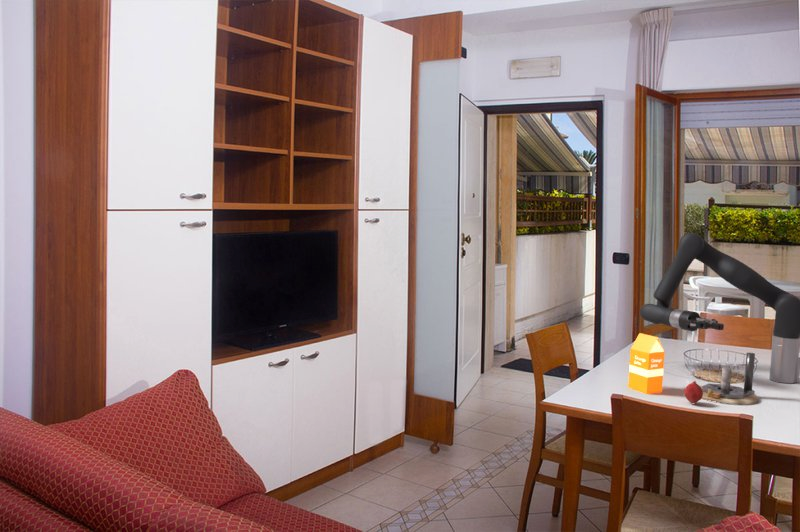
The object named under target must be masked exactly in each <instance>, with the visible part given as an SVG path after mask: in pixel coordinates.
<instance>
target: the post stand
mask: <svg viewBox="0 0 800 532" xmlns="http://www.w3.org/2000/svg"><path fill="white" fill-rule="evenodd" d="M732 370H733V369H732V368H731V367H727V366H722V368H721V379H720V384H721V390H723V391H730V385H731V384H732V383H731V379H732ZM699 386H700V387H701V389H702V386H704V385H699ZM702 391H703V390H702ZM711 393H712V389H708V394H707V393H706V392H704V391H703V396H702V398H703V399H702V398H701V399H702V400H704V399H707V400H706V401H708V400H711V401H710V402H712V401H716V402H715V403H717V402H721V403H720V404H723V403H729V404H728V405H731V404H738V405H737V406H749V405H754V404H757V403H758V402H759V396H758V395H757V394H749V396H747V397H745V398H724V397H720V398H718V399H717V398H713V397H710V396H711Z"/></svg>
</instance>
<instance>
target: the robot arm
mask: <svg viewBox="0 0 800 532" xmlns="http://www.w3.org/2000/svg"><path fill="white" fill-rule="evenodd" d="M678 241H679V242H678V248H677V250H676V253H675V256H674V258H673V260H672V262H671V264H670V265H669V267H668V269H667V270H666V272H665V273H664V274H663V277H662V278H661V280H660V281H659V283H658V285H657V287H656V288H655V290H654V293H653V298H654V299H655V300H656V301H657V302H656V304H654V303H645V304H643V305H642V306H641V308H640V309H639V316H640V317H641V319H642V320H644V321H646V322H650V323H651V324H652V323H653V324H655V325H660V324H662V325H664V326H668V327H673V328H676V329H679V330H684V331H689V332H696V331H697V330H699V329H700V330H701V329H702V330H716V331H724V329H725V328H724V327H725V325H724V323H722V322H721V323H720V322H719V321H718V320H717V319H715V318H706V317H702V316H701V315H700V314H699V313H698V312H696V311H692V310H687V309H676V308H671V307H670V305H671V302H672V299H673V298H674V295H675V294H676V292H677V290H678V289H679V286H680V284H681V282H682V280H683V278H684V276H685V274H686V272H687V270H688V269H689V267H690V265H691V264H692V263H693V262H694V260H697V261H699V262H701V263H703V265H706V266H707V267H708V268H710V269H711V270H712V271H713V272H714V273H716V275H718V277H720V278H721V279H723V280H724V281H725V282H727V283H729V284H730V285H732V286H733V287H735V288H736V289H738V290H740V291H742V292H744V293H746V294H748V295H751V296H753V297H755V298H756V299H759V300H760V301H762V302H763V303H764V304H767V305H768V307H770V308H771V309H773V311H775V314H774V315H775V316H774V317H775V318H774V326H773V328H772V329H773V330H772V342H771V343H772V344H771V352H770V353H771V355H770V366H769V380H770V381H773V382H777V383H782V384H795V383H799V382H800V356H799V355H800V298H799V296H798V297H797V296H796V295H794V294H792V293H790V292H788V291H786V290H784V289H782V288H780V287H778V286H776V285H775V284H773V283H771V282H770V281H768V280H767V279H766V278H765V277H764V276H762V275H761V273H758V272H757V271H756V270H754V269H753V268H751V267H750V266H749V265H747V264H745V263H744V262H742V261H741V260H739V259H736V258H735V257H733V256H731V255H729V254H727V253H724V252H722V251H720V250H719V249H717V248H715V247H714V246H713V245H712V244H710V243H709V242H708V241H706V240H704V238H703V237H701V236H700V235H699V234H698V233H694V232H688V233H685V234H683V235H682V236H681V237H680V239H679V240H678Z"/></svg>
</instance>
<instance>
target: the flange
mask: <svg viewBox="0 0 800 532" xmlns="http://www.w3.org/2000/svg"><path fill="white" fill-rule="evenodd" d="M745 358H746V359H745V370H744V383H743V387H740V386H738V385H737V386H736V385H731V384H730V391H723V390H721V383H707V384H705V385H704V386H703V385H701V386H702V390H703V391H704V392H706V393H707V394H708V389H712V393H711V396H710V397H713V398H717V399H718V398H720V397H724V398H745V397H747V396H749V394H755V393H756V391H755V390H754V389H753V381H754V371H755V370H754V368H755V360H756V359H755V358H756V353H754V352H746V357H745ZM755 395H756V394H755Z"/></svg>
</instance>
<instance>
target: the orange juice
mask: <svg viewBox="0 0 800 532" xmlns="http://www.w3.org/2000/svg"><path fill="white" fill-rule="evenodd" d="M629 354H630V355H629V368H628V371H629V372H628V386H627V388H628V389H631V390H633V391H636V392H639V393H642V394H645V395H651V394H658V393H663V380H664V368H665V367H664V365H665V349H664V348H663V345H662V343H661V341H660V339H659V337H658V336H654V335H650V334H645V333H642V332H639V334H638V335H637V337H636V339H635V341H634V343H633V344H632V346H631V347H630V351H629Z"/></svg>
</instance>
